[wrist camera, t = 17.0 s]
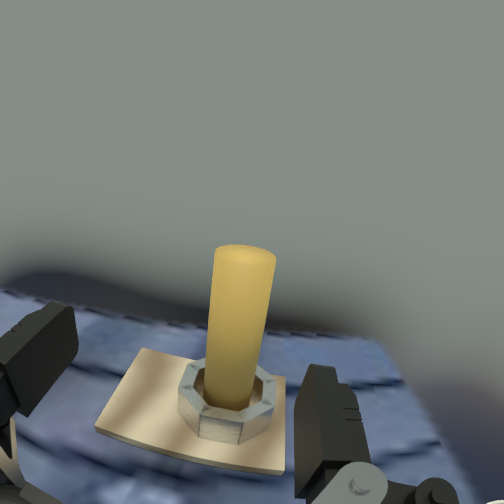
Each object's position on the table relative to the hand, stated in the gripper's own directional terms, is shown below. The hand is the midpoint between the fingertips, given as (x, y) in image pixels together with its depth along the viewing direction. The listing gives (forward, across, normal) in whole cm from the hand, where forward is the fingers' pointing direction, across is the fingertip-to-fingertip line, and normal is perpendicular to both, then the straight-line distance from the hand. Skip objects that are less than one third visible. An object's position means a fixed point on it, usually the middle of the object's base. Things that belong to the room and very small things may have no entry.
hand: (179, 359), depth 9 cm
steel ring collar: (+13, -2, +17) cm, 22 cm away
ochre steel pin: (+13, -2, +17) cm, 21 cm away
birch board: (+13, +1, +18) cm, 23 cm away
